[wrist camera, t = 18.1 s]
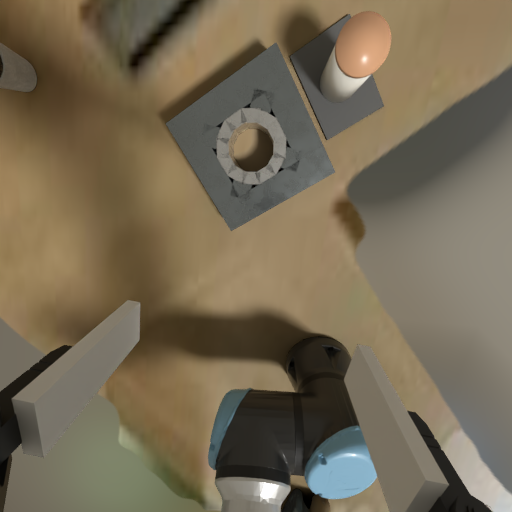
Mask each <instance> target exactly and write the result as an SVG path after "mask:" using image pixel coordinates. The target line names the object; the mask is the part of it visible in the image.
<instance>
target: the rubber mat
mask: <svg viewBox="0 0 512 512" xmlns="http://www.w3.org/2000/svg"><path fill="white" fill-rule="evenodd" d="M350 18H351V16H350V14H349V15H347V16H346V17H344V18H343V19H342V20H340V21H339V22H337V23H336V24H335V25H333V26H332V27H330V28H329V29H328V30H326V31H325V32H323V33H322V34H321V35H319V36H318V37H316V38H315V39H313V40H312V41H311V42H309V43H308V44H306V45H305V46H304V47H302V48H301V49H299V50H298V51H297V52H295V53H294V54H292V55H291V56H290V59H291V61H292V64H293V66H294V68H295V70H296V73H297V75H298V77H299V79H300V81H301V84H302V86H303V88H304V90H305V93H306V95H307V97H308V99H309V102H310V104H311V106H312V108H313V110H314V113H315V115H316V117H317V119H318V122H319V124H320V126H321V128H322V131H323V133H324V135H325V137H326V139H327V140H328V139H330V138H332V137H333V136H335V135H337V134H338V133H340V132H341V131H343V130H345V129H346V128H348V127H350V126H351V125H353V124H355V123H356V122H358V121H360V120H361V119H363V118H365V117H366V116H368V115H370V114H371V113H373V112H375V111H376V110H378V109H380V108H381V107H383V106H384V105H383V102H382V99H381V97H380V94H379V91H378V89H377V86H376V83H375V81H374V78H373V75H372V74H371V75H370V76H369V77H368V79H367V80H366V81H365V82H364V83H363V84H362V85H361V86H360V87H359V88H358V89H357V90H356V91H355V92H354V94H353V95H352V96H351V97H350V98H349V99H347V100H346V101H344V102H340V103H333V102H330V101H328V100H327V99H326V98H325V97H324V96H323V94H322V92H321V89H320V79H321V75H322V73H323V70H324V68H325V66H326V64H327V62H328V60H329V57H330V55H331V53H332V51H333V49H334V46H335V44H336V41H337V38H338V36H339V34H340V31H341V29H342V28H343V26H344V25H345V24H346V22H347V21H348V20H349V19H350Z"/></svg>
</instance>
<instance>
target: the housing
mask: <svg viewBox="0 0 512 512" xmlns="http://www.w3.org/2000/svg"><path fill="white" fill-rule="evenodd" d="M166 125H167V127H168V128H169V130H170V132H171V133H172V135H173V137H174V138H175V140H176V141H177V143H178V145H179V146H180V148H181V150H182V151H183V153H184V155H185V156H186V158H187V159H188V161H189V163H190V164H191V166H192V168H193V169H194V171H195V173H196V174H197V176H198V177H199V179H200V181H201V182H202V184H203V186H204V187H205V189H206V191H207V192H208V194H209V196H210V197H211V199H212V200H213V202H214V204H215V205H216V207H217V209H218V210H219V212H220V214H221V215H222V217H223V218H224V220H225V222H226V223H227V225H228V227H229V228H230V230H231V231H232V230H234V229H236V228H238V227H239V226H241V225H243V224H245V223H246V222H248V221H250V220H252V219H253V218H255V217H257V216H259V215H260V214H262V213H264V212H266V211H268V210H269V209H271V208H273V207H275V206H276V205H278V204H280V203H282V202H283V201H285V200H287V199H289V198H290V197H292V196H294V195H296V194H297V193H299V192H301V191H303V190H305V189H306V188H308V187H310V186H312V185H313V184H315V183H317V182H319V181H320V180H322V179H324V178H326V177H327V176H329V175H331V174H333V173H334V172H335V171H334V168H333V166H332V164H331V162H330V160H329V157H328V155H327V153H326V151H325V149H324V146H323V144H322V142H321V140H320V138H319V135H318V133H317V131H316V129H315V127H314V124H313V122H312V120H311V118H310V116H309V113H308V111H307V109H306V107H305V105H304V102H303V100H302V98H301V96H300V94H299V91H298V89H297V87H296V85H295V83H294V80H293V78H292V76H291V74H290V72H289V69H288V67H287V65H286V63H285V61H284V58H283V56H282V54H281V52H280V50H279V47H278V45H277V43H275V44H273V45H272V46H270V47H269V48H268V49H266V50H265V51H264V52H262V53H261V54H260V55H258V56H257V57H256V58H254V59H253V60H251V61H250V62H249V63H247V64H246V65H245V66H243V67H242V68H241V69H239V70H238V71H236V72H235V73H234V74H232V75H231V76H230V77H228V78H227V79H226V80H224V81H223V82H222V83H220V84H219V85H217V86H216V87H215V88H213V89H212V90H211V91H209V92H208V93H207V94H205V95H204V96H202V97H201V98H200V99H198V100H197V101H196V102H194V103H193V104H192V105H190V106H189V107H187V108H186V109H185V110H183V111H182V112H181V113H179V114H178V115H177V116H175V117H174V118H173V119H171V120H170V121H168V122H167V123H166ZM247 129H260V130H262V131H263V132H265V133H266V134H268V135H269V137H270V139H271V141H272V143H273V145H274V146H273V156H272V158H271V159H270V161H269V163H268V165H267V166H266V167H264V168H262V169H261V170H259V171H257V172H247V171H245V170H244V169H242V168H240V167H239V165H238V164H237V162H236V160H235V158H234V144H235V141H236V139H237V137H238V135H240V134H241V133H243V132H244V131H246V130H247ZM286 146H287V148H286ZM279 169H283V170H282V171H280V172H279V173H277V172H278V170H279ZM254 184H259V185H257V186H255V187H254ZM253 187H254V188H253Z"/></svg>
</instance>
